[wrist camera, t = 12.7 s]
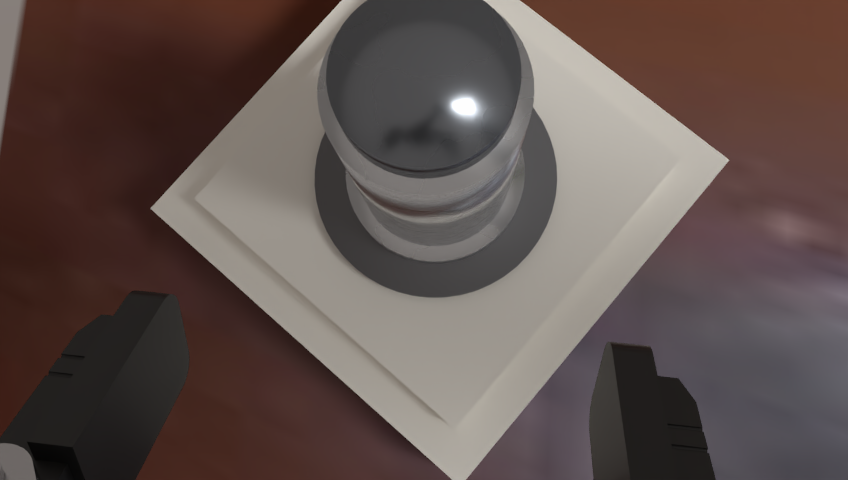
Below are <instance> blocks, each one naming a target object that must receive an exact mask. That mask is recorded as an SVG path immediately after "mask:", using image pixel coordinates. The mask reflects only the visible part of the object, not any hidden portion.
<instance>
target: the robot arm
mask: <svg viewBox="0 0 848 480" xmlns="http://www.w3.org/2000/svg"><path fill="white" fill-rule="evenodd" d="M188 368H189V350H188V345H187V340H186V336H185V331H184V326H183V321H182V316H181V312H180V307H179V302H178V299H177V298H176V296H175V295H173V294H164V293H155V292H145V291H132V292H131V293H129V294H128V296H127V297H126V298H125V300H124V301H123V303H122V304H121V306H120V307H119V309H118V310H117V311H116V313H115V314H114V316H110V315H100V316H99V317H98V318H96V319H95V320H94V321H92V322H91V323H89V324H88V325H87V326H85V327H84V328H82V329H81V330H80V331H78V332H77V333H76V335H75V336H74V337H73V339H72V340H71V341H70V343H69V344H68V346H67V347H66V348H65V350H64V351H63V352H62V356H61V358H58V359H57V361H56V362H55V363H54V365H53V366H52V368H51V369H50V370H49V375H48V376H45V377H44V378H43V380H42V381H41V383H40V384H39V385H38V387H37V388H36V389H35V391H34V392H33V394H32V395H31V396H30V398H29V399H28V400H27V402H26V403H25V404H24V406H23V407H22V409H21V410H20V411H19V413H18V414H17V415H16V417H15V418H14V420H13V421H12V422H11V424H10V425H9V426H8V428H7V429H6V431H5V432H4V433H3V435H2V436H1V437H0V480H135V479H136V477H137V475H138V474H139V472H140V470H141V468H142V466H143V464H144V462H145V460H146V458H147V456H148V454H149V452H150V450H151V448H152V446H153V444H154V442H155V440H156V438H157V436H158V434H159V432H160V431H161V429H162V427H163V425H164V423H165V421H166V419H167V417H168V415H169V413H170V411H171V409H172V407H173V405H174V403H175V401H176V399H177V397H178V395H179V393H180V391H181V390H182V388H183V385H184V383H185V380H186V377H187V373H188ZM589 431H590V443H591V454H592V465H593V476H594V480H716V479H715V475H714V471H713V467H712V464H711V460H710V456H709V453H707V449H708V448H707V444H706V440H705V436H704V432H702V424H701V420H700V416H699V412H698V408H697V404H696V401H695V400H694V399H693V397H692V396H691V395H690V393H689V392H688V391H687V389H686V388H685V387H684V385H683V384H682V383H681V381H680V380H679V379H678V378H670V377H661V376H657V371H656V366H655V362H654V357H653V352H652V349H651V347H650V346H644V345H635V344H625V343H616V342H608V343H607V344H606V346H605V349H604V353H603V357H602V361H601V365H600V369H599V373H598V377H597V380H596V384H595V388H594V392H593V396H592V401H591V407H590V419H589Z"/></svg>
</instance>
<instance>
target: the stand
mask: <svg viewBox="0 0 848 480" xmlns="http://www.w3.org/2000/svg"><path fill="white" fill-rule="evenodd" d="M366 1H367V0H342V1H341V2H340V3H339V4H338V5H337V6H336V7H335V8H334V9H333V10H332V11H331V13H330V14H329V15H328V16H327V17H326V18H325V19H324V20H323V21H322V22H321V23H320V25H319V26H318V27H317V28H316V29H315V30H314V31H313V32H312V33H311V34H310V35H309V36H308V38H307V39H306V40H305V41H304V42H303V43H302V44H301V45H300V46H299V47H298V48H297V50H296V51H295V52H294V53H293V54H292V55H291V56H290V57H289V58H288V59H287V60H286V62H285V63H284V64H283V65H282V66H281V67H280V68H279V69H278V70H277V71H276V72H275V73H274V75H273V76H272V77H271V78H270V79H269V80H268V81H267V82H266V83H265V84H264V85H263V87H262V88H261V89H260V90H259V91H258V92H257V93H256V94H255V95H254V96H253V97H252V98H251V100H250V101H249V102H248V103H247V104H246V105H245V106H244V107H243V108H242V109H241V110H240V112H239V113H238V114H237V115H236V116H235V117H234V118H233V119H232V120H231V121H230V122H229V123H228V125H227V126H226V127H225V128H224V129H223V130H222V131H221V132H220V133H219V134H218V135H217V137H216V138H215V139H214V140H213V141H212V142H211V143H210V144H209V145H208V146H207V147H206V148H205V150H204V151H203V152H202V153H201V154H200V155H199V156H198V157H197V158H196V159H195V160H194V162H193V163H192V164H191V165H190V166H189V167H188V168H187V169H186V170H185V171H184V172H183V174H182V175H181V176H180V177H179V178H178V179H177V180H176V181H175V182H174V183H173V184H172V185H171V187H170V188H169V189H168V190H167V191H166V192H165V193H164V194H163V195H162V196H161V197H160V199H159V200H158V201H157V202H156V203H155V204H154V205H153V206H152V207H151V208H150V209H151V210H153V211H154V212H155V213H156V214H157V215H158V216H159V217H160V218H161V219H163V220H164V221H165V222H166V223H167V224H168V225H169V226H170V227H171V228H173V229H174V230H175V231H176V232H177V233H178V234H179V235H180V236H181V237H183V238H184V239H185V240H186V241H187V242H188V243H189V244H190V245H191V246H193V247H194V248H195V249H196V250H197V251H198V252H199V253H200V254H201V255H203V256H204V257H205V258H206V259H207V260H208V261H209V262H210V263H212V264H213V265H214V266H215V267H216V268H217V269H218V270H219V271H220V272H222V273H223V274H224V275H225V276H226V277H227V278H228V279H229V280H230V281H232V282H233V283H234V284H235V285H236V286H237V287H238V288H239V289H240V290H242V291H243V292H244V293H245V294H246V295H247V296H248V297H249V298H250V299H252V300H253V301H254V302H255V303H256V304H257V305H258V306H259V307H260V308H262V309H263V310H264V311H265V312H266V313H267V314H268V315H269V316H271V317H272V318H273V319H274V320H275V321H276V322H277V323H278V324H279V325H281V326H282V327H283V328H284V329H285V330H286V331H287V332H288V333H289V334H291V335H292V336H293V337H294V338H295V339H296V340H297V341H298V342H299V343H301V344H302V345H303V346H304V347H305V348H306V349H307V350H308V351H309V352H311V353H312V354H313V355H314V356H315V357H316V358H317V359H318V360H320V361H321V362H322V363H323V364H324V365H325V366H326V367H327V368H328V369H330V370H331V371H332V372H333V373H334V374H335V375H336V376H337V377H338V378H340V379H341V380H342V381H343V382H344V383H345V384H346V385H347V386H348V387H350V388H351V389H352V390H353V391H354V392H355V393H356V394H357V395H358V396H360V397H361V398H362V399H363V400H364V401H365V402H366V403H367V404H368V405H370V406H371V407H372V408H373V409H374V410H375V411H376V412H377V413H379V414H380V415H381V416H382V417H383V418H384V419H385V420H386V421H387V422H389V423H390V424H391V425H392V426H393V427H394V428H395V429H396V430H397V431H399V432H400V433H401V434H402V435H403V436H404V437H405V438H406V439H407V440H409V441H410V442H411V443H412V444H413V445H414V446H415V447H416V448H417V449H419V450H420V451H421V452H422V453H423V454H424V455H425V456H426V457H427V458H429V459H430V460H431V461H432V462H433V463H434V464H435V465H436V466H438V467H439V468H440V469H441V470H442V471H443V472H444V473H445V474H446V475H448V476H449V477H450V478H451V479H452V480H466V479H467V478H468V476H469V475H470V474H471V473H472V471H473V470H474V469H475V468H476V467H477V465H478V464H479V463H480V462H481V461H482V459H483V458H484V457H485V456H486V455H487V453H488V452H489V451H490V450H491V448H492V447H493V446H494V445H495V444H496V442H497V441H498V440H499V439H500V438H501V436H502V435H503V434H504V433H505V431H506V430H507V429H508V428H509V427H510V425H511V424H512V423H513V422H514V421H515V419H516V418H517V417H518V416H519V415H520V413H521V412H522V411H523V410H524V408H525V407H526V406H527V405H528V404H529V402H530V401H531V400H532V399H533V398H534V396H535V395H536V394H537V393H538V391H539V390H540V389H541V388H542V387H543V385H544V384H545V383H546V382H547V381H548V379H549V378H550V377H551V376H552V375H553V373H554V372H555V371H556V370H557V368H558V367H559V366H560V365H561V364H562V362H563V361H564V360H565V359H566V358H567V356H568V355H569V354H570V353H571V351H572V350H573V349H574V348H575V347H576V345H577V344H578V343H579V342H580V341H581V339H582V338H583V337H584V336H585V335H586V333H587V332H588V331H589V330H590V328H591V327H592V326H593V325H594V324H595V322H596V321H597V320H598V319H599V318H600V316H601V315H602V314H603V313H604V311H605V310H606V309H607V308H608V307H609V305H610V304H611V303H612V302H613V301H614V299H615V298H616V297H617V296H618V294H619V293H620V292H621V291H622V290H623V288H624V287H625V286H626V285H627V284H628V282H629V281H630V280H631V279H632V278H633V276H634V275H635V274H636V273H637V271H638V270H639V269H640V268H641V267H642V265H643V264H644V263H645V262H646V261H647V259H648V258H649V257H650V256H651V254H652V253H653V252H654V251H655V250H656V248H657V247H658V246H659V245H660V244H661V242H662V241H663V240H664V239H665V238H666V236H667V235H668V234H669V233H670V231H671V230H672V229H673V228H674V227H675V225H676V224H677V223H678V222H679V221H680V219H681V218H682V217H683V216H684V214H685V213H686V212H687V211H688V210H689V208H690V207H691V206H692V205H693V204H694V202H695V201H696V200H697V199H698V198H699V196H700V195H701V194H702V193H703V191H704V190H705V189H706V188H707V187H708V185H709V184H710V183H711V182H712V181H713V179H714V178H715V177H716V176H717V174H718V173H719V172H720V171H721V170H722V168H723V167H724V166H725V165H726V164H727V162H728V161H729V159H727V158H726V157H725V156H723V155H722V154H721V153H719V152H718V151H717V150H715V149H714V148H713V147H712V146H710V145H709V144H708V143H706V142H705V141H704V140H702V139H701V138H700V137H698V136H697V135H696V134H694V133H693V132H692V131H691V130H689V129H688V128H687V127H685V126H684V125H683V124H681V123H680V122H679V121H677V120H676V119H675V118H673V117H672V116H671V115H670V114H668V113H667V112H666V111H664V110H663V109H662V108H660V107H659V106H658V105H656V104H655V103H654V102H652V101H651V100H650V99H649V98H647V97H646V96H645V95H643V94H642V93H641V92H639V91H638V90H637V89H635V88H634V87H633V86H631V85H630V84H629V83H628V82H626V81H625V80H624V79H622V78H621V77H620V76H618V75H617V74H616V73H614V72H613V71H612V70H610V69H609V68H608V67H607V66H605V65H604V64H603V63H601V62H600V61H599V60H597V59H596V58H595V57H593V56H592V55H591V54H589V53H588V52H587V51H586V50H584V49H583V48H582V47H580V46H579V45H578V44H576V43H575V42H574V41H572V40H571V39H570V38H568V37H567V36H566V35H565V34H563V33H562V32H561V31H559V30H558V29H557V28H555V27H554V26H553V25H551V24H550V23H549V22H547V21H546V20H545V19H544V18H542V17H541V16H540V15H538V14H537V13H536V12H534V11H533V10H532V9H530V8H529V7H528V6H526V5H525V4H524V3H523V2H521V1H520V0H484V1H485V2H487V3H488V4H489V5H490V6H491V7H492V8H493V9H495V10H496V11H497V12H498V13H499V14H500V15H501V16H502V17H503V18H504V19H506V21H507V22H508V23H509V24H510V25H511V26H512V27H513V29H514V30H515V31H516V33H517V34H518V36H519V37H520V39H521V41H522V42H523V45H524V47H525V49H526V51H527V53H528V56H529V59H530V62H531V65H532V71H533V76H534V102H533V109H532V113H531V117H530V121H529V124H528V127H527V131H526V134H525V137H524V141H523V144H522V147H521V149H522V152H523V158H524V164H525V180H524V188H523V192H522V196H521V199H520V202H519V205H518V207H517V210H516V212H515V215H514V217H513V218H512V220H511V222H510V224H509V225H508V227H507V228H506V229H505V231H504V232H503V233H502V234H501V235H500V236H499V237H498V238H497V239H496V240H495V241H494V242H493V243H492V244H491V245H489V246H488V247H487V248H486V249H484V250H482V251H481V252H479V253H477V254H476V255H473V256H471V257H469V258H466V259H464V260H460V261H456V262H452V263H445V264H426V263H418V262H414V261H411V260H407V259H405V258H402V257H400V256H397V255H395V254H394V253H392V252H390V251H388V250H387V249H385V248H384V247H383V246H381V245H380V244H379V243H378V242H377V241H376V240H375V239H374V238H373V237H372V236H371V235H370V234H369V233H368V232H367V230H366V229H365V228H364V226H363V225H362V223H361V222H360V220H359V219H358V217H357V215H356V214H355V212H354V210H353V207H352V205H351V202H350V199H349V195H348V192H347V185H346V168H345V166H344V165H343V163H342V161H341V159H340V158H339V156H338V154H337V153H336V151H335V149H334V147H333V146H332V144H331V142H330V140H329V139H328V137H327V135H326V132H325V130H324V127H323V125H322V121H321V118H320V114H319V108H318V100H317V85H318V78H319V72H320V68H321V65H322V61H323V58H324V56H325V53H326V51H327V49H328V47H329V45H330V43H331V42H332V40H333V38H334V37H335V35H336V34H337V32H338V31H339V30H340V28H341V26H342V25H343V23H344V22H345V21H346V20H347V18H348V17H349V16H350V15H351V14H352V13H353V12H354V11H355V10H356V9H357V8H358V7H359V6H360V5H361V4H363V3H364V2H366Z"/></svg>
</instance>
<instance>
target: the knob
mask: <svg viewBox="0 0 848 480" xmlns="http://www.w3.org/2000/svg"><path fill="white" fill-rule="evenodd" d="M317 100H318V108H319V114H320V118H321V121H322V125H323V127H324V130H325V132H326V135H327V137H328V139H329V140H330V142H331V144H332V146H333V147H334V149H335V151H336V153H337V154H338V156H339V158H340V159H341V161H342V163H343V165H344V166H345V168H346V185H347V192H348V195H349V199H350V202H351V205H352V207H353V210H354V212H355V214H356V215H357V217H358V219H359V220H360V222H361V223H362V225H363V226H364V228H365V229H366V230H367V232H368V233H369V234H370V235H371V236H372V237H373V238H374V239H375V240H376V241H377V242H378V243H379V244H380V245H381V246H383V247H384V248H385V249H387V250H388V251H390V252H392V253H394V254H395V255H397V256H400V257H402V258H405V259H407V260H411V261H414V262H418V263H426V264H445V263H452V262H456V261H460V260H464V259H466V258H469V257H471V256H473V255H476V254H477V253H479V252H481V251H482V250H484V249H486V248H487V247H488V246H489V245H491V244H492V243H493V242H494V241H495V240H496V239H497V238H498V237H499V236H500V235H501V234H502V233H503V232H504V231H505V229H506V228H507V227H508V225H509V224H510V222H511V220H512V218H513V217H514V215H515V212H516V210H517V207H518V205H519V202H520V199H521V196H522V192H523V188H524V180H525V164H524V158H523V152H522V149H521V147H522V144H523V141H524V137H525V134H526V131H527V127H528V124H529V121H530V117H531V113H532V109H533V102H534V76H533V71H532V65H531V62H530V59H529V56H528V53H527V51H526V49H525V47H524V45H523V42H522V41H521V39H520V37H519V36H518V34H517V33H516V31H515V30H514V29H513V27H512V26H511V25H510V24H509V23H508V22H507V21H506V19H504V18H503V17H502V16H501V15H500V14H499V13H498V12H497V11H496V10H495V9H493V8H492V7H491V6H490V5H489V4H488V3H487V2H485V1H484V0H367V1H366V2H364V3H363V4H361V5H360V6H359V7H358V8H357V9H356V10H355V11H354V12H353V13H352V14H351V15H350V16H349V17H348V18H347V20H346V21H345V22H344V23H343V25H342V26H341V28H340V30H339V31H338V32H337V34H336V35H335V37H334V38H333V40H332V42H331V43H330V45H329V47H328V49H327V51H326V53H325V56H324V58H323V61H322V65H321V68H320V72H319V78H318V85H317Z"/></svg>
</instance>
